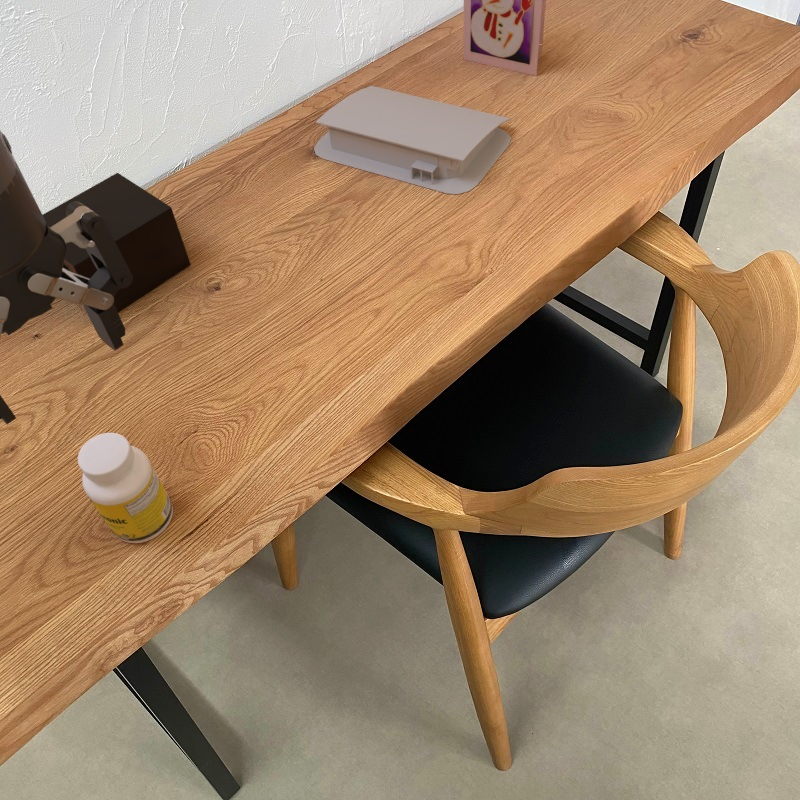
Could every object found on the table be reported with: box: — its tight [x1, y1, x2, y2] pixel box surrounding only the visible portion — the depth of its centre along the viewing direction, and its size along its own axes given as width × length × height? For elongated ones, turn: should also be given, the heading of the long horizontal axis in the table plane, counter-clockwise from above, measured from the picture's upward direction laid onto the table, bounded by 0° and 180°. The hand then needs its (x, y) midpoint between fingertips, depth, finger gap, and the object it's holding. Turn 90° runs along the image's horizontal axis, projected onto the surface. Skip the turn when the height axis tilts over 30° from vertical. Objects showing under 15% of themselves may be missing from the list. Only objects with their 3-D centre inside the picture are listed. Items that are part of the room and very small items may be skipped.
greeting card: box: [463, 0, 547, 77], centre depth 109 cm, size 11×7×15 cm, turn 60°
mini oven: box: [42, 172, 192, 314], centre depth 86 cm, size 13×10×8 cm
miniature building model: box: [313, 85, 512, 195], centre depth 101 cm, size 15×23×4 cm, turn 61°
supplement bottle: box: [77, 432, 174, 544], centre depth 65 cm, size 5×5×10 cm
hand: (60, 378), depth 55 cm, fingers open, 8 cm apart
